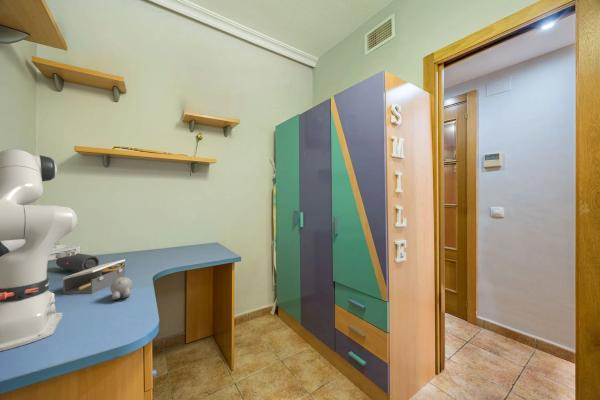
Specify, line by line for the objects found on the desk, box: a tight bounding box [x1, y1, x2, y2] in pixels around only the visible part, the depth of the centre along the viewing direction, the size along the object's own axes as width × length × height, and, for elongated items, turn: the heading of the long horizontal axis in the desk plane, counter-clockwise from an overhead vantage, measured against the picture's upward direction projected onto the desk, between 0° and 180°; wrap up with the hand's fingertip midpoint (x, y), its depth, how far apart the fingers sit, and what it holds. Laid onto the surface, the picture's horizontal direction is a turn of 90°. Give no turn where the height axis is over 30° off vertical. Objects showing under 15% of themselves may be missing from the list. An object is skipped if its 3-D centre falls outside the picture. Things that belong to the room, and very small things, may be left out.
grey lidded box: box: [62, 266, 126, 295], centre depth 111 cm, size 20×13×6 cm, turn 3°
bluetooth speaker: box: [55, 253, 100, 273], centre depth 133 cm, size 23×9×10 cm, turn 72°
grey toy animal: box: [109, 276, 133, 301], centre depth 99 cm, size 7×12×8 cm, turn 36°
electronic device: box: [102, 262, 126, 275], centre depth 133 cm, size 8×16×3 cm, turn 27°
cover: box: [61, 259, 126, 280], centre depth 111 cm, size 20×13×1 cm, turn 3°
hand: (73, 253), depth 111 cm, fingers closed
